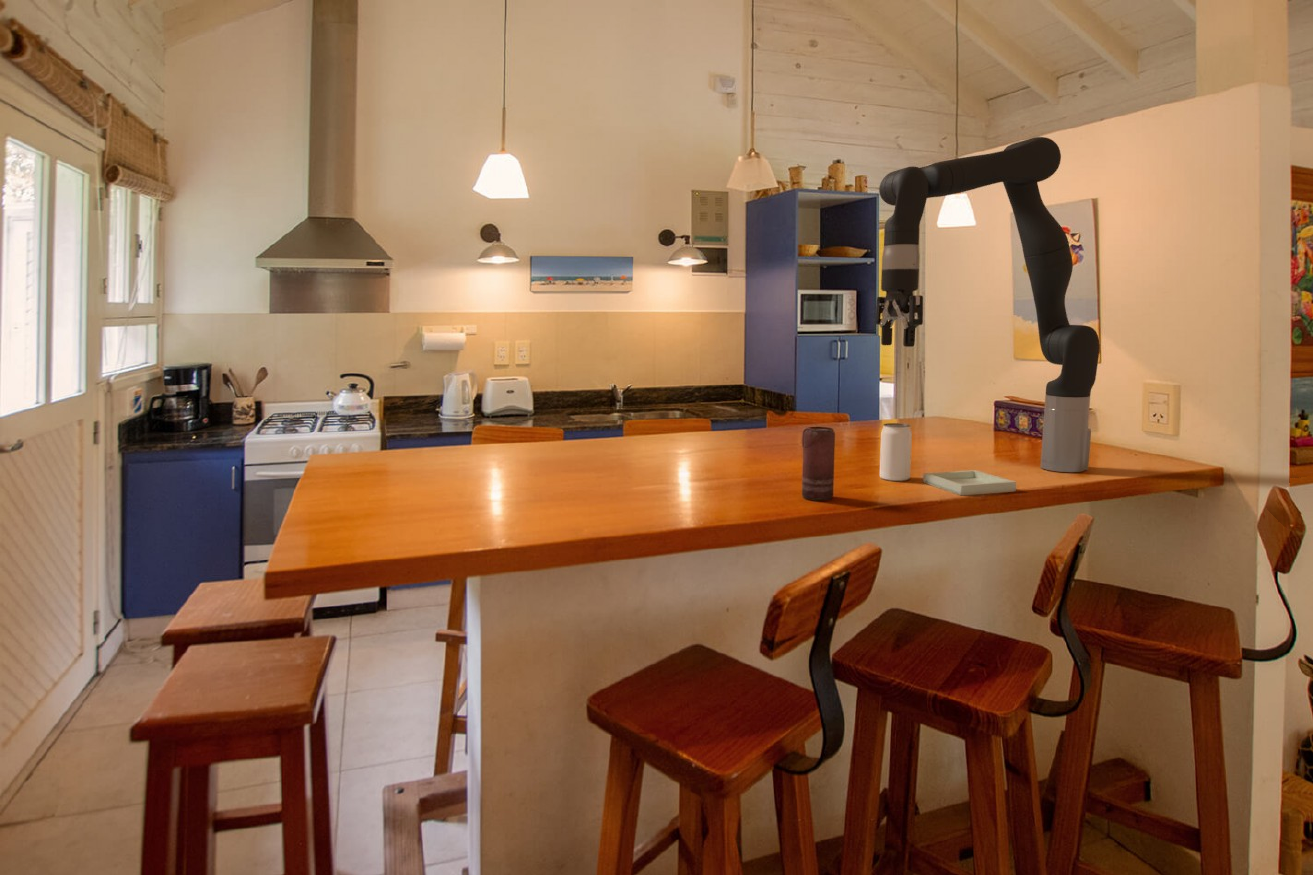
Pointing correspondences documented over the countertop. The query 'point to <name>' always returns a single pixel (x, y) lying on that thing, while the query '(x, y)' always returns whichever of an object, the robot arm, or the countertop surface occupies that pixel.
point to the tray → (969, 482)
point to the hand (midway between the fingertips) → (897, 345)
